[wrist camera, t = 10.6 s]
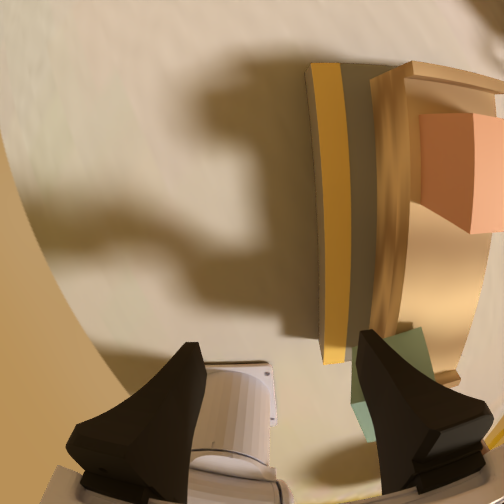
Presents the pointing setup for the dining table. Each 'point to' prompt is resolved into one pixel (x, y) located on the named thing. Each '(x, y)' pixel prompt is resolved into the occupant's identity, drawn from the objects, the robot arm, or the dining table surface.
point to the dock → (344, 200)
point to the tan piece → (424, 216)
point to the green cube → (409, 349)
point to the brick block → (463, 169)
